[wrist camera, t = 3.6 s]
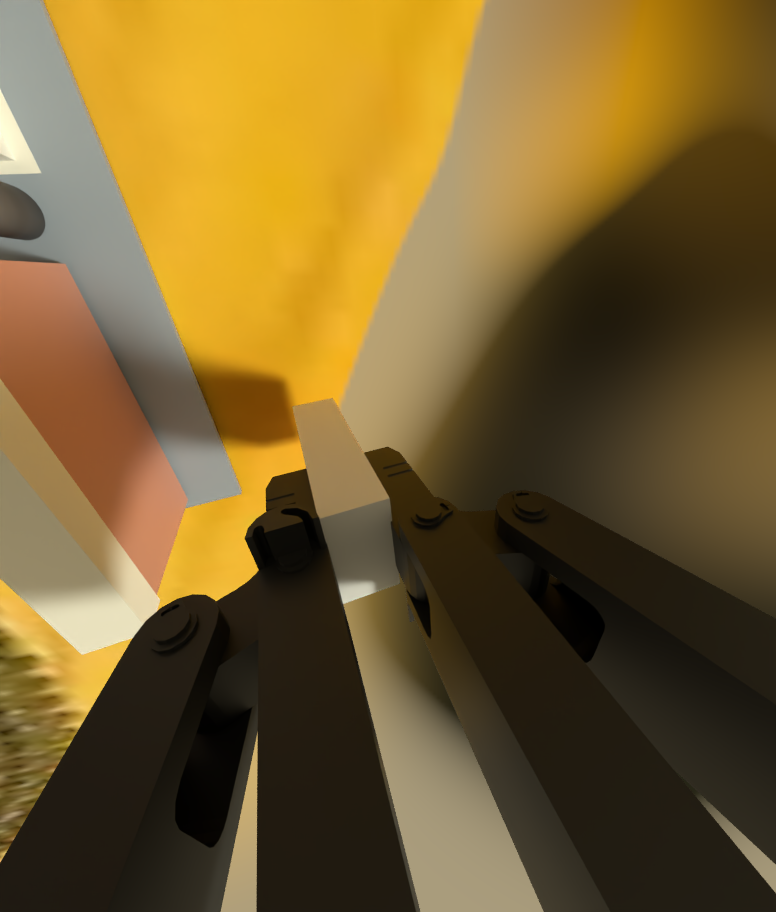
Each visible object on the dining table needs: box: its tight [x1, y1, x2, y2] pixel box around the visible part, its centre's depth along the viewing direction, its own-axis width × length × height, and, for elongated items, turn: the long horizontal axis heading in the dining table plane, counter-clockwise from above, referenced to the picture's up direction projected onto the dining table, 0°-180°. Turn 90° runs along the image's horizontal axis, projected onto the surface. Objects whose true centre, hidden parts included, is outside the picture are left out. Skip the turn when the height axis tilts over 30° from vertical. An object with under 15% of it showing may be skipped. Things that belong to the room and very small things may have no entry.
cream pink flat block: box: [0, 260, 188, 655], centre depth 8 cm, size 8×2×6 cm, turn 5°
